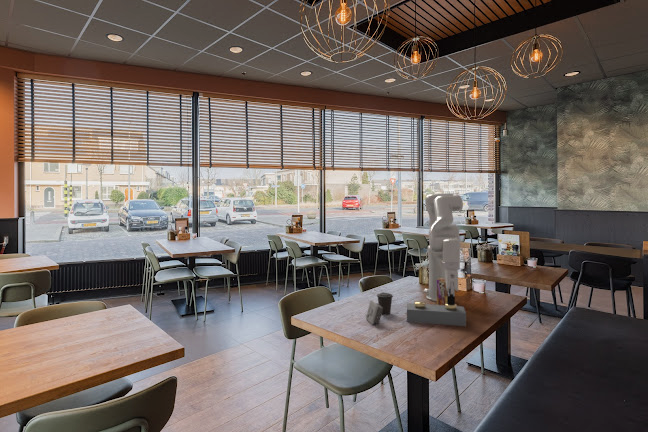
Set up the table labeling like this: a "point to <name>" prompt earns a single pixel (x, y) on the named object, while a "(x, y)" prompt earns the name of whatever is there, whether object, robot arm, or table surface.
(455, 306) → the knob
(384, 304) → the coffee cup
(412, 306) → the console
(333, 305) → the table surface
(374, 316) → the electrical switch
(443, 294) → the candy box
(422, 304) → the knob
